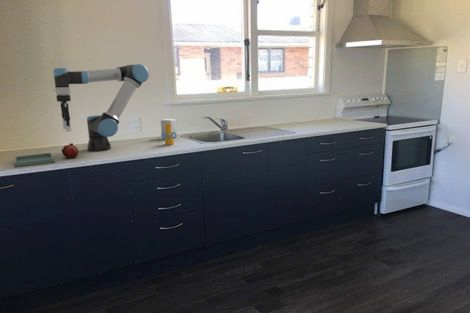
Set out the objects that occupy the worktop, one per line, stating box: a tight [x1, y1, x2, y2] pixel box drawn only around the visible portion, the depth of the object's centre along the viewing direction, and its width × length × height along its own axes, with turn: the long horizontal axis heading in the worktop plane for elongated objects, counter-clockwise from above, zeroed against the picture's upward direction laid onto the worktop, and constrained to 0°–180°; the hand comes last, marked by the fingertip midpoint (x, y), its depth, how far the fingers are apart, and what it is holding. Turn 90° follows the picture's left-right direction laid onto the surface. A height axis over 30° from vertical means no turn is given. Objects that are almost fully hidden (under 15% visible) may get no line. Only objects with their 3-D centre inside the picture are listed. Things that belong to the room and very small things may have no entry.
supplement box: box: [160, 118, 178, 140], centre depth 288 cm, size 9×9×15 cm
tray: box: [13, 152, 55, 168], centre depth 219 cm, size 20×20×2 cm
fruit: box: [61, 142, 80, 159], centre depth 226 cm, size 9×10×10 cm
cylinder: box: [160, 123, 178, 146], centre depth 263 cm, size 12×10×15 cm
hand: (67, 130), depth 224 cm, fingers open, 13 cm apart
